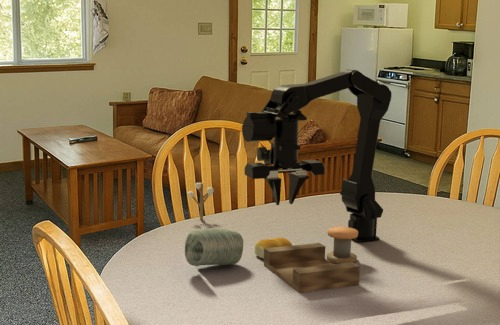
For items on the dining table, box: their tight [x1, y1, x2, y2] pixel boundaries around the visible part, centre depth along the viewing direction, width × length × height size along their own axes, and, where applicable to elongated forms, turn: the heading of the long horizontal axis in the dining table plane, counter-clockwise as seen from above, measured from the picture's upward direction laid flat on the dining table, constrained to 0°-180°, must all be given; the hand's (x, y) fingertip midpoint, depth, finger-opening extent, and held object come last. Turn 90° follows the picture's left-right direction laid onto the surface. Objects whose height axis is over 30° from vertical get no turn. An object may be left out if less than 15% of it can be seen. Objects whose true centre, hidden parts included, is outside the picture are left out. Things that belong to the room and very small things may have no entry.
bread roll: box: [254, 237, 293, 260], centre depth 158 cm, size 8×9×4 cm
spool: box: [184, 227, 244, 267], centre depth 149 cm, size 14×10×10 cm
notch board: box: [263, 242, 361, 293], centre depth 146 cm, size 14×18×4 cm
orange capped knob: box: [326, 226, 358, 264], centre depth 156 cm, size 7×7×7 cm
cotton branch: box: [187, 182, 215, 221], centre depth 185 cm, size 7×6×12 cm
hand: (284, 204), depth 160 cm, fingers open, 3 cm apart
